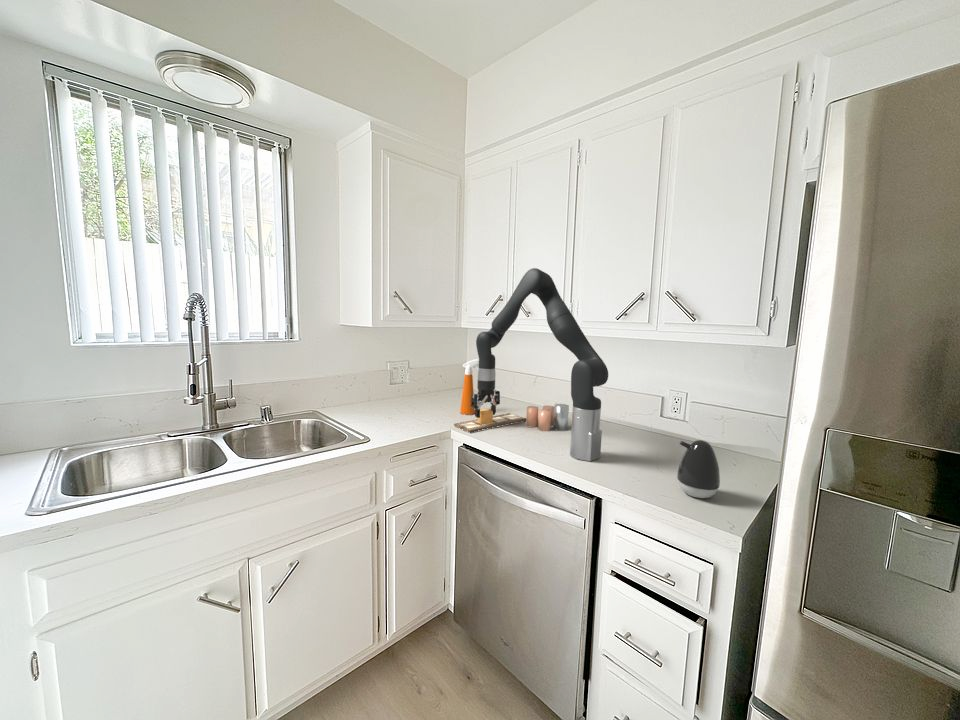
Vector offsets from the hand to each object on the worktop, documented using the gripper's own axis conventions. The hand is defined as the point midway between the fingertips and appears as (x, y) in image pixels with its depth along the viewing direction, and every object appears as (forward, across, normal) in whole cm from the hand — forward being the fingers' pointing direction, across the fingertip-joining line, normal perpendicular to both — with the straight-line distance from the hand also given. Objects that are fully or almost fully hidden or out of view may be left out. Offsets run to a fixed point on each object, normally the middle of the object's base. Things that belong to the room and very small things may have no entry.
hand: (485, 416), depth 167 cm
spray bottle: (+4, -8, -20) cm, 22 cm away
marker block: (+3, 0, 0) cm, 3 cm away
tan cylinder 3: (+4, -17, +18) cm, 25 cm away
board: (+4, -4, 0) cm, 6 cm away
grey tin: (+4, -24, +22) cm, 32 cm away
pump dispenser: (+4, -5, +84) cm, 84 cm away
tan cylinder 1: (+4, -17, +12) cm, 21 cm away
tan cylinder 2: (+4, -24, +14) cm, 28 cm away
